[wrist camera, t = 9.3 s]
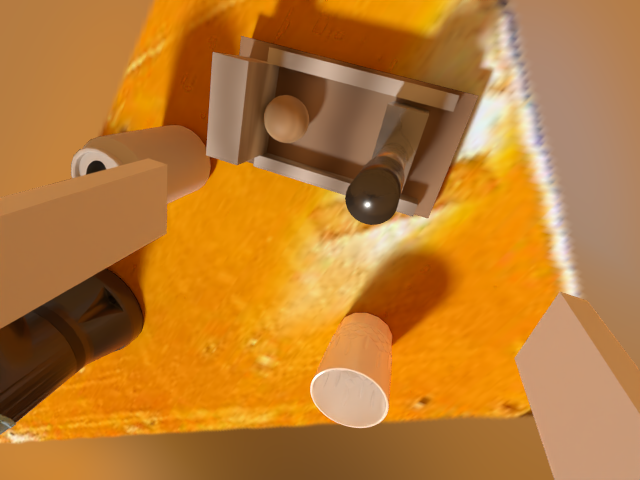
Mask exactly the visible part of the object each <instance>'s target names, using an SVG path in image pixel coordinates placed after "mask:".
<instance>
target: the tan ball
mask: <svg viewBox="0 0 640 480" xmlns="http://www.w3.org/2000/svg"><path fill="white" fill-rule="evenodd" d="M264 124H265V127H266V130H267V132H268V133H269V134H270V135H271V136H272V137H273V138H274V139H275V140H277V141H279V142H283V143H292V142H295V141H297V140H299V139H300V138H301V137H302V136H303V135H304V134H305V133H306V131H307V129H308V125H309V114H308V111H307V109H306V107H305V105H304V104H303V103H302V102H301V101H300V100H299V99H297V98H296V97H293V96H290V95H282V96H278V97H276V98H274V99H273V100H272V101H271V102H270V103H269V104H268V105H267V107H266V109H265V112H264Z"/></svg>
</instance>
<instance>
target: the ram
mask: <svg viewBox="0 0 640 480" xmlns="http://www.w3.org/2000/svg"><path fill="white" fill-rule="evenodd" d="M428 117H429V110H427V109H423V108H419V107H416V106H412V105H408V104H404V103H400V102H397V101H393V102H391V103H389V104H388V105H387V108H386V112H385V115H384V118H383V122H382V125H381V129H380V132H379V135H378V139H377V142H376V145H375V149H374V152H373V156H372V159H371V160H370V161H368V162H367V164H366V165H365V166H364V167H363V168H362V170H361V171H360V172H359V173H358V175H357V176H356V177H355V178H354V180H353V181H352V182H351V184H350V185H349V187H348V189H347V191H346V198H345V199H346V205H347V208H348V210H349V212H350V213H351V215H352V216H353V217H354V218H355V219H357V220H358V221H360V222H362V223H365V224H370V225H375V224H381V223H383V222H385V221H387V220H389V219H390V218H391V217H392V216H393V215H394V213H395V212H396V210H397V207H398V203H399V200H400V196H401V193H402V190H403V187H404V184H405V181H406V179H407V176H408V173H409V170H410V167H411V165H412V162H413V159H414V156H415V153H416V150H417V148H418V145H419V142H420V139H421V136H422V134H423V131H424V128H425V125H426V122H427V119H428Z"/></svg>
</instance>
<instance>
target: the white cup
mask: <svg viewBox="0 0 640 480" xmlns="http://www.w3.org/2000/svg"><path fill="white" fill-rule="evenodd" d="M391 346H392V334H391V331H390V329H389V327H388V325H387V324H386V323H385V322H383V321H382V320H381V319H380V318H379V317H377V316H374V315H371V314H369V313H353V314H351V315H349V316H346V317H345V318H344V319H343V320H342V322H341V323H340V325H339V326H338V328H337V331H336V333H335V334H334V336H333V338H332V340H331V342H330V344H329V346H328V348H327V350H326V352H325V354H324V356H323V358H322V360H321V363H320V365H319V367H318V369H317V371H316V374H315V376H314V378H313V380H312V382H311V387H310V392H311V396H312V399H313V401H314V403H315V405H316V406H317V407H318V409H319V410H320V411H321V412H322V413H323V414H324V415H326V416H327V417H328V418H330V419H331V420H333V421H335V422H337V423H340V424H342V425H345V426H349V427H355V428H365V427H371V426H373V425H376V424H378V423H380V422H381V421H382V420H383V419H384V418H385V417H386V415H387V413H388V409H389V396H390V383H391V366H392V353H391Z"/></svg>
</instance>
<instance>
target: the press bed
mask: <svg viewBox="0 0 640 480" xmlns="http://www.w3.org/2000/svg"><path fill="white" fill-rule="evenodd" d="M282 95H290V96H293V97H296V98H297V99H299V100H300V101H301V102H302V103H303V104H304V105H305V107H306V109H307V111H308V114H309V125H308V129H307V131H306V133H305V134H304V135H303V136H302V137H301V138H300V139H299V140H297V141H295V142H292V143H283V142H279V141H277V140H275V139H274V138H273V137H272V136H271V135H270V134H269V133H268V132H267V130H266V127H265V124H264V112H265V109H266V107H267V105H268V104H269V103H270V102H271V101H272V100H273V99H274V98H276V97H278V96H282ZM477 98H478V96H477V95H473V94H469V93H465V92H461V91H457V90H453V89H449V88H445V87H441V86H437V85H433V84H429V83H425V82H421V81H418V80H414V79H410V78H406V77H402V76H398V75H394V74H390V73H386V72H382V71H378V70H374V69H370V68H366V67H362V66H358V65H354V64H350V63H346V62H342V61H338V60H335V59H331V58H327V57H323V56H319V55H315V54H311V53H307V52H303V51H299V50H295V49H291V48H287V47H283V46H279V45H275V44H271V43H267V42H263V41H259V40H255V39H252V38H248V37H244V36H241V44H240V54H239V56H238V55H231V54H224V53H217V52H213V55H212V70H211V86H210V101H209V117H208V132H207V148H206V155H207V156H210V157H213V158H216V159H220V160H223V161H226V162H229V163H232V164H235V165H239V164H241V163H243V162H246V161H247V162H250V163H253V164H254V166H255V167H258V168H261V169H264V170H267V171H271V172H274V173H277V174H280V175H283V176H286V177H290V178H293V179H296V180H299V181H302V182H305V183H308V184H312V185H315V186H318V187H321V188H324V189H327V190H331V191H334V192H337V193H340V194H343V195H346V191H347V189H348V187H349V185H350V184H351V182H352V181H353V180H354V178H355V177H356V176H357V175H358V173H359V172H360V171H361V170H362V168H363V167H364V166H365V165H366V164H367V162H368V161H370V160H371V159H372V156H373V152H374V149H375V145H376V142H377V139H378V135H379V132H380V129H381V125H382V122H383V118H384V115H385V112H386V108H387V105H388V104H389V103H391V102H393V101H397V102H400V103H404V104H408V105H412V106H416V107H419V108H423V109H427V110H429V117H428V119H427V122H426V125H425V128H424V131H423V134H422V136H421V139H420V142H419V145H418V148H417V150H416V153H415V156H414V159H413V162H412V165H411V167H410V170H409V173H408V176H407V179H406V181H405V184H404V187H403V190H402V193H401V196H400V200H399V203H398V207H397V210H396V211H397V212H400V213H403V214H406V215H410V216H413V215H414V214H415V215H418V216H422V217H425V218H429V215H430V213H431V210H432V208H433V205H434V203H435V200H436V198H437V196H438V193H439V191H440V188H441V186H442V183H443V181H444V179H445V176H446V174H447V171H448V169H449V166H450V164H451V161H452V159H453V157H454V154H455V152H456V149H457V147H458V144H459V142H460V139H461V137H462V135H463V132H464V130H465V127H466V125H467V122H468V120H469V117H470V115H471V113H472V110H473V108H474V105H475V103H476V100H477Z"/></svg>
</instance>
